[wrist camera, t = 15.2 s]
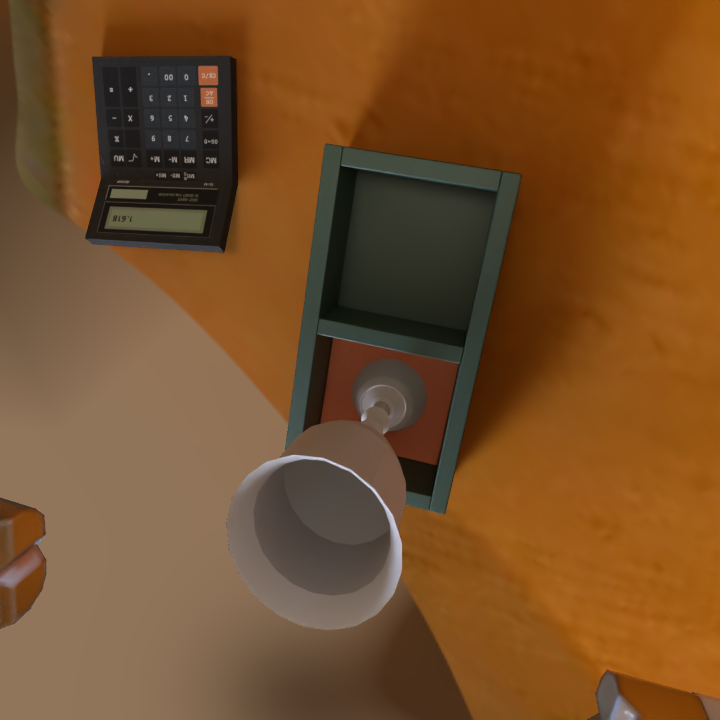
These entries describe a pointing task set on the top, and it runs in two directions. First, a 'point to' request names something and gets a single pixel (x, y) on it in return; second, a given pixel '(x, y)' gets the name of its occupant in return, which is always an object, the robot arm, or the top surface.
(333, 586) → the chalice
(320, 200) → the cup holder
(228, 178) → the calculator
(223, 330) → the top surface
